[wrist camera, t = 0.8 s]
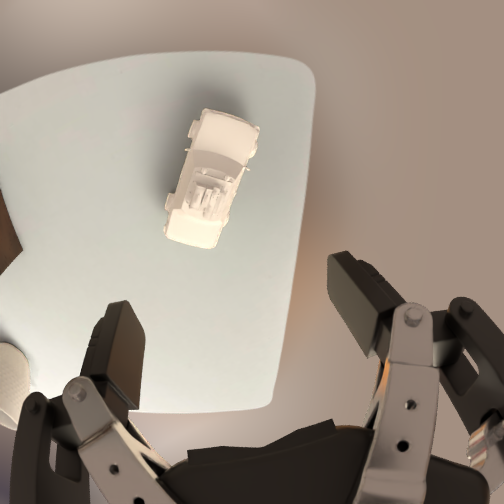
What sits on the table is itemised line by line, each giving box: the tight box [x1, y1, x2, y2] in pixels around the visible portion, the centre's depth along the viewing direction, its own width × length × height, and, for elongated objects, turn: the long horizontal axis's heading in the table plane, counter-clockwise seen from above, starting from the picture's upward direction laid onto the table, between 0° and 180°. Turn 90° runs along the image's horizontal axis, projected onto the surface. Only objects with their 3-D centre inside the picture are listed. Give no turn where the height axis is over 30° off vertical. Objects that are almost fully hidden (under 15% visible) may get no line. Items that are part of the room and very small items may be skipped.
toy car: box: [164, 108, 260, 249], centre depth 21 cm, size 6×12×7 cm, turn 158°
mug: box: [0, 342, 30, 430], centre depth 25 cm, size 15×11×13 cm
